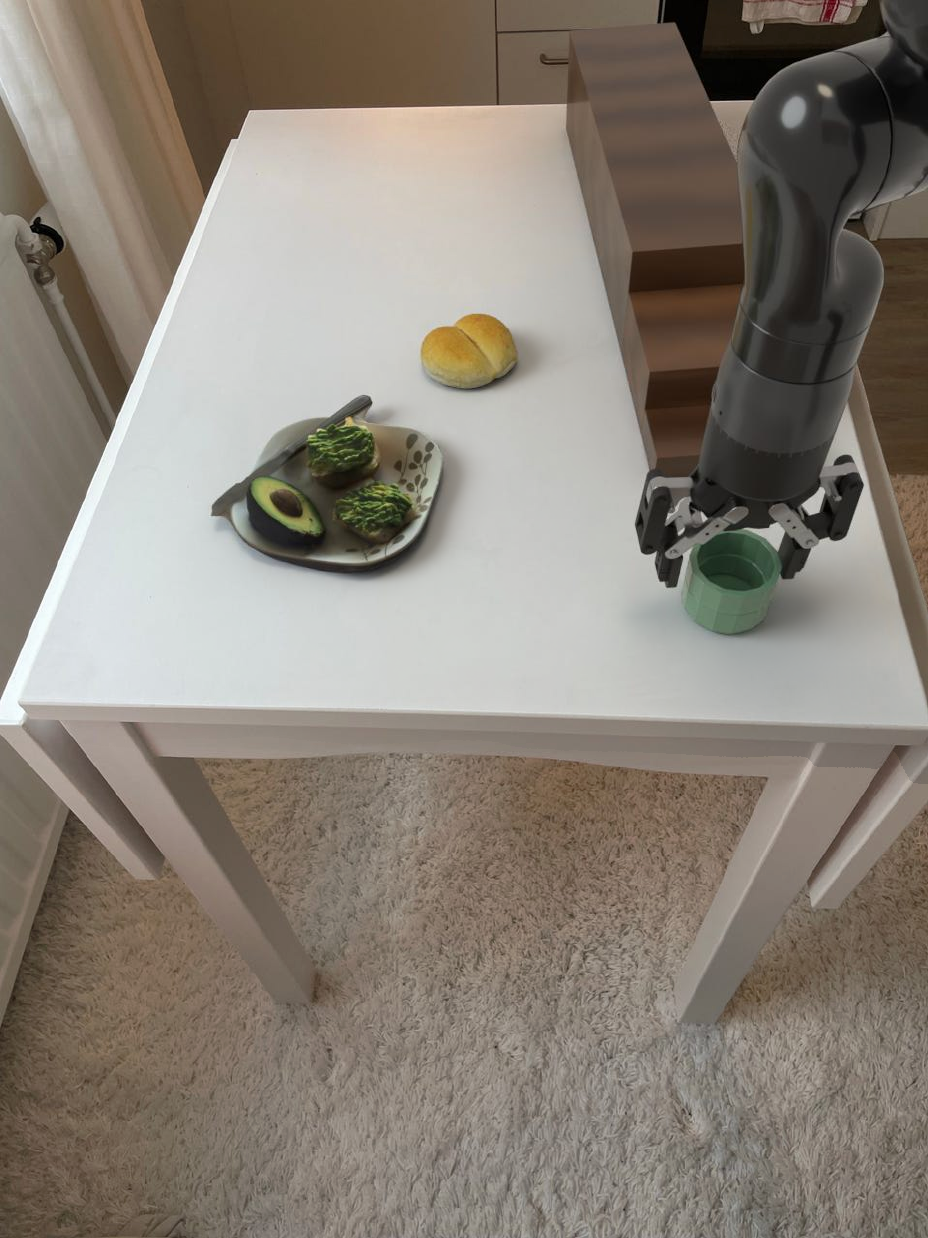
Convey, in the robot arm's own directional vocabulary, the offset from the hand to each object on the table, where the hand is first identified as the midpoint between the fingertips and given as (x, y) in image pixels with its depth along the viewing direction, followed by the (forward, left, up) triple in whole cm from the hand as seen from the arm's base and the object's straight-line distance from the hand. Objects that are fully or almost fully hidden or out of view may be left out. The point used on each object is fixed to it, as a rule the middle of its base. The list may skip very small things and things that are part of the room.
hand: (726, 574), depth 70 cm
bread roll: (+30, -19, -4) cm, 35 cm away
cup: (0, 0, -3) cm, 3 cm away
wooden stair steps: (+18, -40, -3) cm, 44 cm away
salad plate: (+33, +2, -4) cm, 33 cm away
